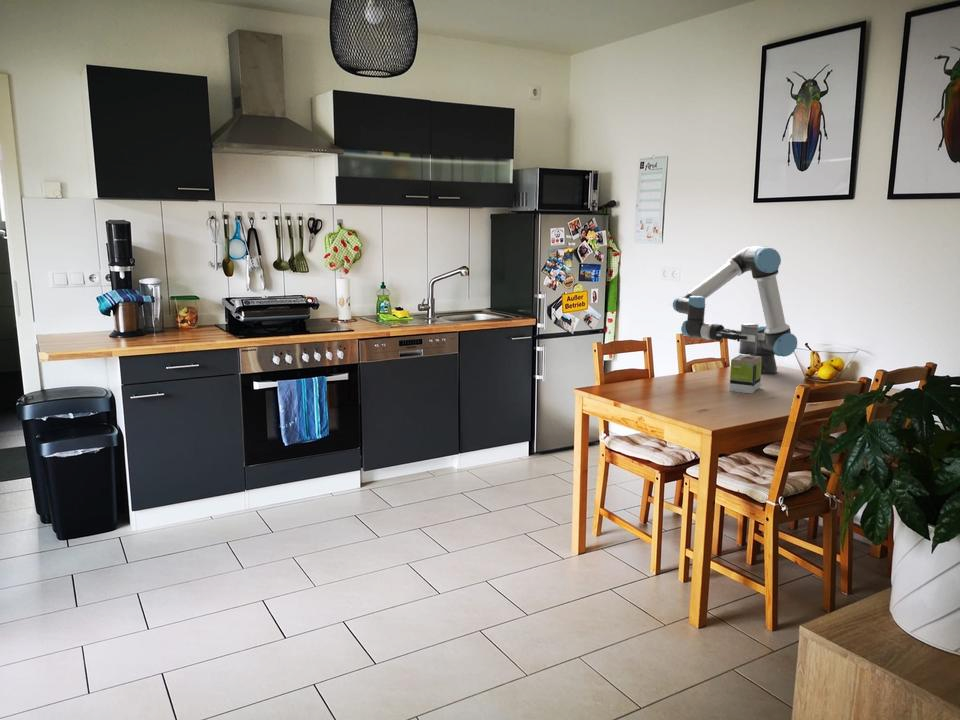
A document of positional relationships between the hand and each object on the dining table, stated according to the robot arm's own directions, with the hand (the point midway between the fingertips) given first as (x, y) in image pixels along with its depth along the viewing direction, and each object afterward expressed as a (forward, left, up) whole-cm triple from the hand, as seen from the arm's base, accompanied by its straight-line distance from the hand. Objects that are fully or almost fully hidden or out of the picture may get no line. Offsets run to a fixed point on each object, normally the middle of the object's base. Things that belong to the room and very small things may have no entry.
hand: (759, 338), depth 314 cm
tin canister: (+1, -5, -7) cm, 9 cm away
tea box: (+1, -5, -24) cm, 25 cm away
